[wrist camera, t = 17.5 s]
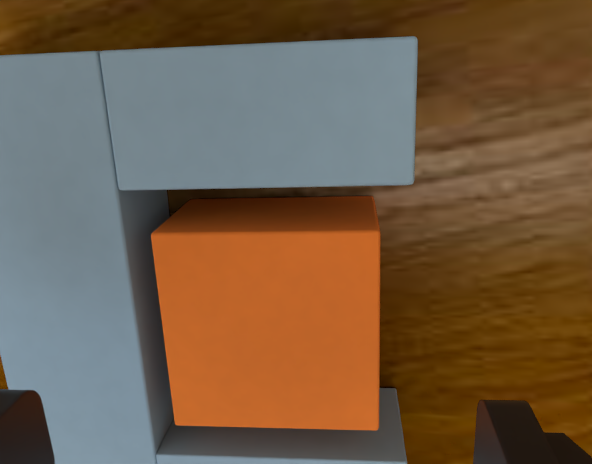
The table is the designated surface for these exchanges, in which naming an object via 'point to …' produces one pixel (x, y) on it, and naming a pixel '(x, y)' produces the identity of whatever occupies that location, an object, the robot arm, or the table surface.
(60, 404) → the light blue u-shaped block
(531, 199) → the table surface
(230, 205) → the orange block
